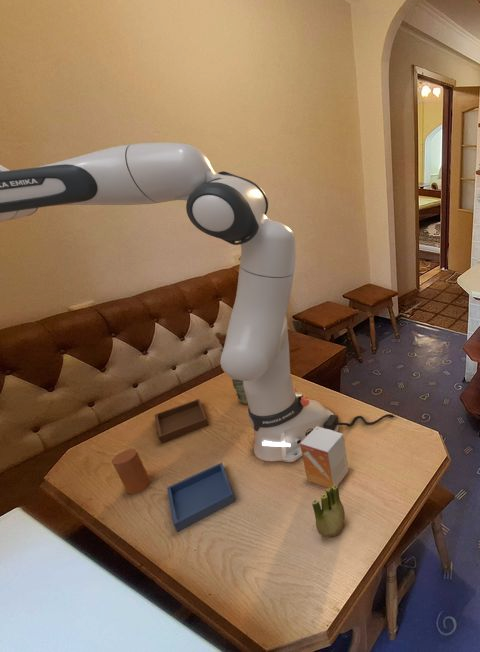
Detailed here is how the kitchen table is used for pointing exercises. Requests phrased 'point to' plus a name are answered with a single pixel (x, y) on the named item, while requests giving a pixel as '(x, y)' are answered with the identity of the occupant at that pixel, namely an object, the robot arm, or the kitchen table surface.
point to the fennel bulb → (329, 513)
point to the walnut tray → (180, 420)
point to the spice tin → (131, 471)
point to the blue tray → (199, 496)
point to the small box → (324, 457)
